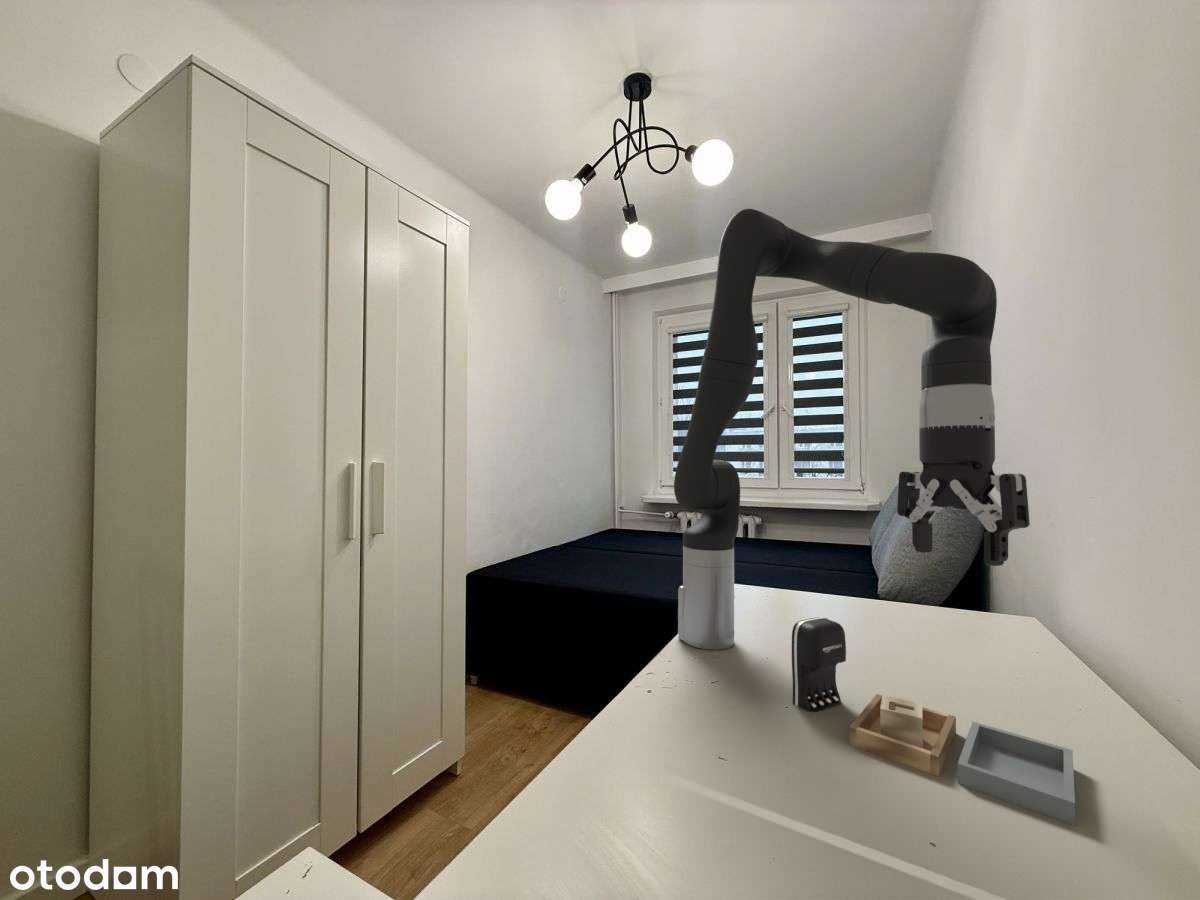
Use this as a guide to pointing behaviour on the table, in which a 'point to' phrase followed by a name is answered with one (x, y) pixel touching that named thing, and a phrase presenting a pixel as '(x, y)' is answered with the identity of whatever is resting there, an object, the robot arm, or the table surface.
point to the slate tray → (1019, 771)
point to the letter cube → (902, 720)
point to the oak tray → (928, 759)
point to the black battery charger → (816, 663)
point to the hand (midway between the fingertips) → (956, 558)
